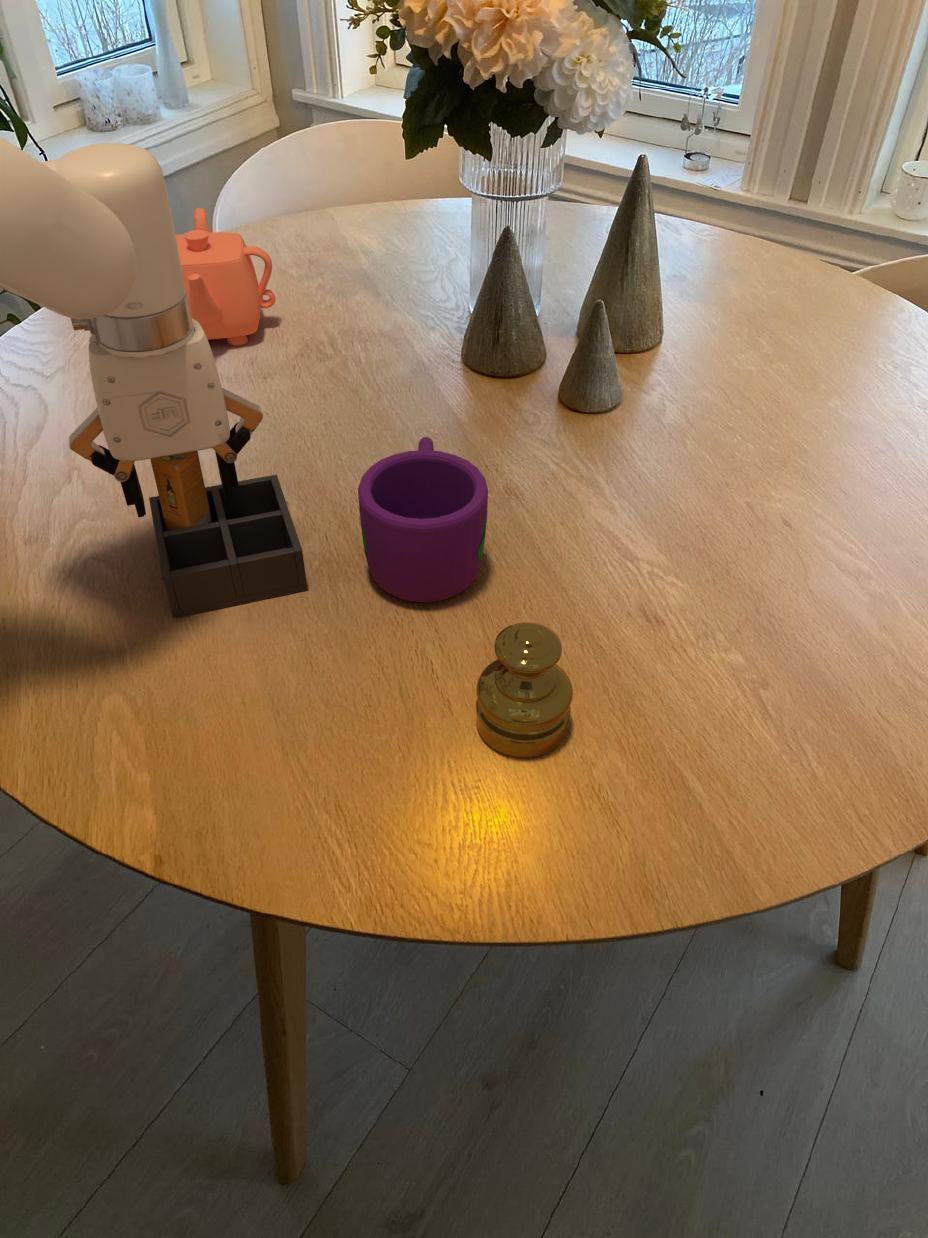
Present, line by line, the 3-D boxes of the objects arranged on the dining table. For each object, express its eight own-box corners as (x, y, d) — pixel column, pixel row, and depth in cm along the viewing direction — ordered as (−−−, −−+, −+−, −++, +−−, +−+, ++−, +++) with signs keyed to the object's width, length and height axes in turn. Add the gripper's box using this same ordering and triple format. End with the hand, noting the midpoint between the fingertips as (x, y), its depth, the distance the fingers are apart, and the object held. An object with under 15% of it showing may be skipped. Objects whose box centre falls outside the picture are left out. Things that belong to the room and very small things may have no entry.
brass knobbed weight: (579, 751, 75) (593, 663, 68) (487, 767, 74) (491, 679, 67) (553, 683, 80) (563, 594, 73) (466, 696, 79) (468, 608, 72)
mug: (486, 613, 86) (489, 525, 79) (359, 612, 86) (351, 524, 79) (483, 497, 99) (485, 412, 92) (372, 496, 98) (366, 411, 92)
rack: (173, 618, 85) (162, 578, 82) (159, 536, 93) (148, 497, 90) (307, 590, 88) (302, 550, 85) (282, 513, 96) (276, 474, 93)
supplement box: (219, 538, 92) (200, 450, 85) (196, 558, 89) (175, 469, 83) (192, 527, 93) (171, 439, 86) (168, 547, 91) (145, 459, 84)
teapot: (210, 373, 116) (191, 272, 107) (124, 331, 123) (100, 233, 114) (299, 329, 124) (288, 231, 116) (214, 292, 132) (198, 197, 123)
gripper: (26, 357, 71) (88, 543, 83) (260, 324, 75) (287, 506, 87) (25, 312, 76) (84, 494, 88) (245, 284, 80) (271, 461, 92)
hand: (184, 499), depth 88 cm, fingers open, 7 cm apart
